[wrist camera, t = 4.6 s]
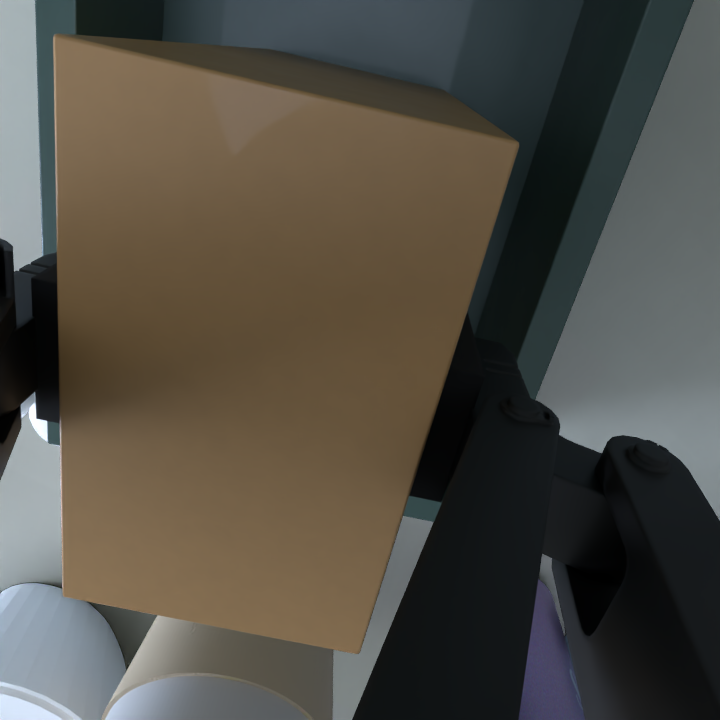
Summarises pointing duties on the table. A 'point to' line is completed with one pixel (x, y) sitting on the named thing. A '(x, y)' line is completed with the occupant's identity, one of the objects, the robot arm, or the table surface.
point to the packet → (254, 323)
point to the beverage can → (549, 667)
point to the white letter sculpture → (55, 656)
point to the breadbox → (474, 89)
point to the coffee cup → (222, 677)
